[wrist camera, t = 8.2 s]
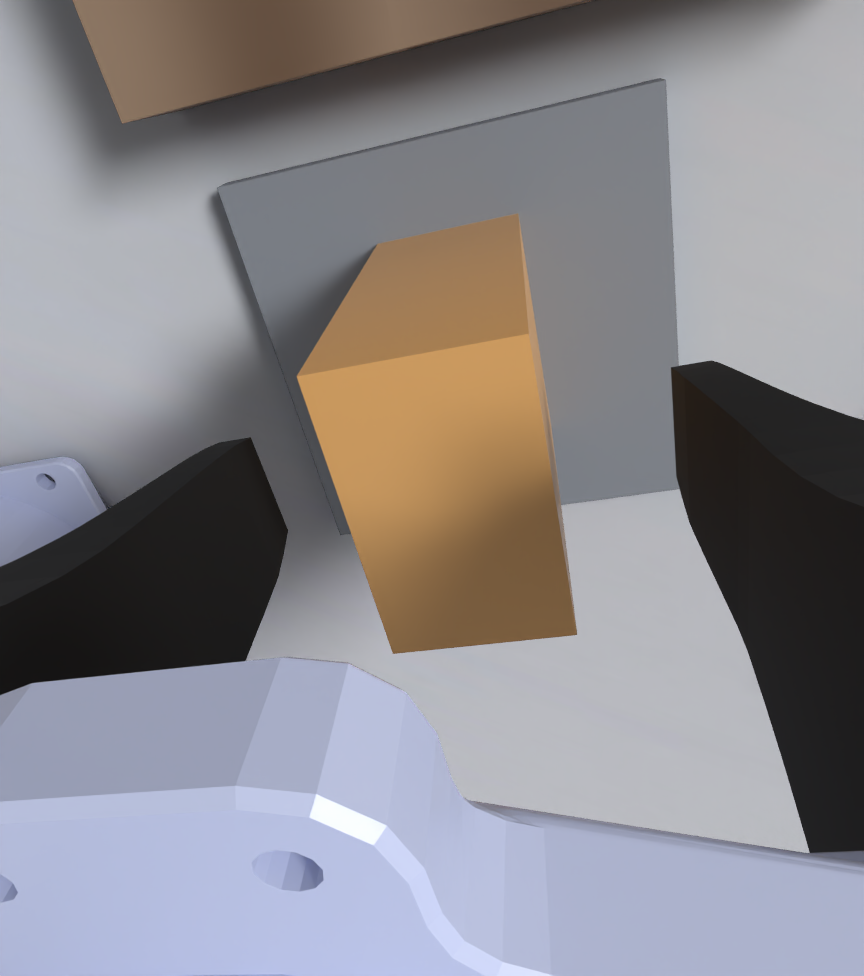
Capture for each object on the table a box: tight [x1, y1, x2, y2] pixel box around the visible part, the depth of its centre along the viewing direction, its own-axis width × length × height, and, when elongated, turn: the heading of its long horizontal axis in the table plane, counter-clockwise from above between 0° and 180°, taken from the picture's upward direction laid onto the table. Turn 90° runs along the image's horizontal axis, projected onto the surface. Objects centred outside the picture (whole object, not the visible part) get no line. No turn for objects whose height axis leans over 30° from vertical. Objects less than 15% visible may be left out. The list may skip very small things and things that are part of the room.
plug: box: [297, 213, 577, 654], centre depth 13 cm, size 3×5×7 cm, turn 13°
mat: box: [217, 78, 680, 535], centre depth 16 cm, size 9×9×1 cm
